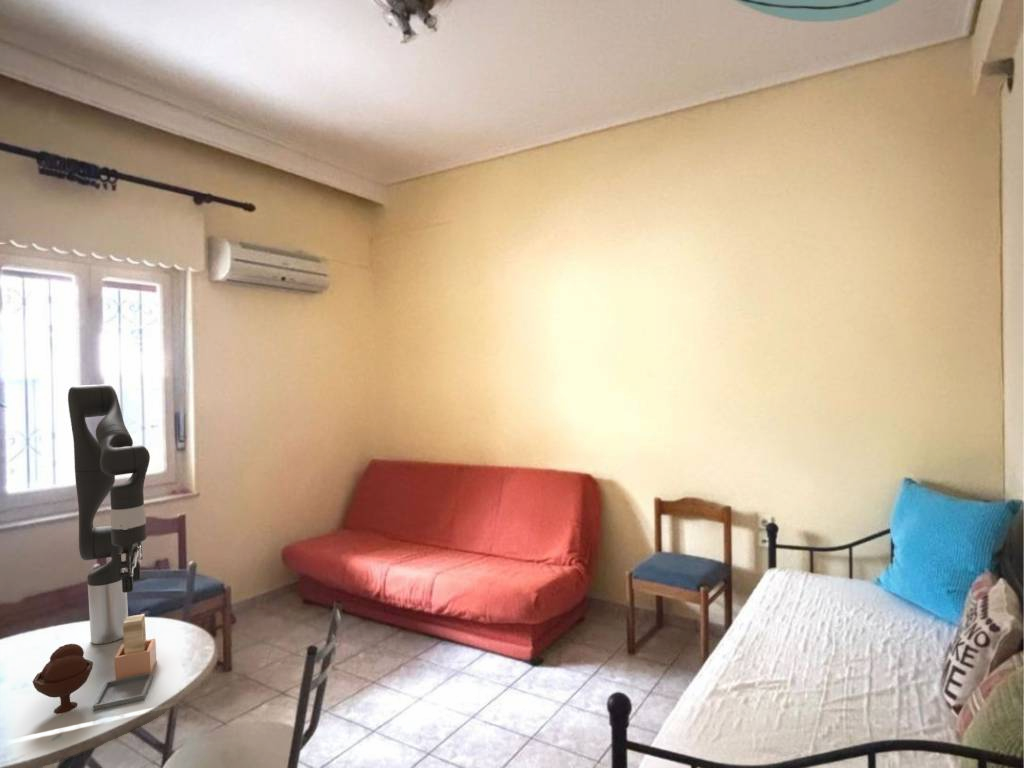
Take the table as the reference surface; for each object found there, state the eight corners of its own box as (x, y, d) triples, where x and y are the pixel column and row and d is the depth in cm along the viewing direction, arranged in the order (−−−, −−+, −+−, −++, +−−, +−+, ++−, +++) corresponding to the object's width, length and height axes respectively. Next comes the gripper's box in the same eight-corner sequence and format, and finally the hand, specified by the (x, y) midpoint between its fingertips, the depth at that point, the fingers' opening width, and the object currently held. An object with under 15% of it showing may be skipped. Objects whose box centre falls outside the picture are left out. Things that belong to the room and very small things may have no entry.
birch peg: (129, 669, 148) (126, 616, 148) (147, 665, 150) (144, 613, 149) (125, 676, 145) (122, 623, 144) (144, 673, 146) (141, 620, 146)
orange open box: (123, 670, 149) (121, 644, 149) (156, 663, 152) (155, 638, 152) (115, 685, 142) (114, 658, 142) (151, 678, 145) (149, 651, 145)
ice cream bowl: (32, 712, 132) (28, 649, 131) (91, 691, 140) (88, 632, 139) (37, 732, 124) (33, 665, 124) (99, 709, 132) (95, 646, 132)
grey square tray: (106, 689, 141) (105, 681, 140) (153, 679, 144) (152, 672, 144) (93, 714, 130) (93, 706, 130) (144, 703, 134) (143, 695, 134)
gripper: (118, 518, 151) (121, 578, 151) (103, 533, 138) (107, 598, 138) (151, 515, 154) (154, 574, 154) (139, 528, 141) (143, 593, 141)
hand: (131, 585), depth 146 cm, fingers open, 8 cm apart
